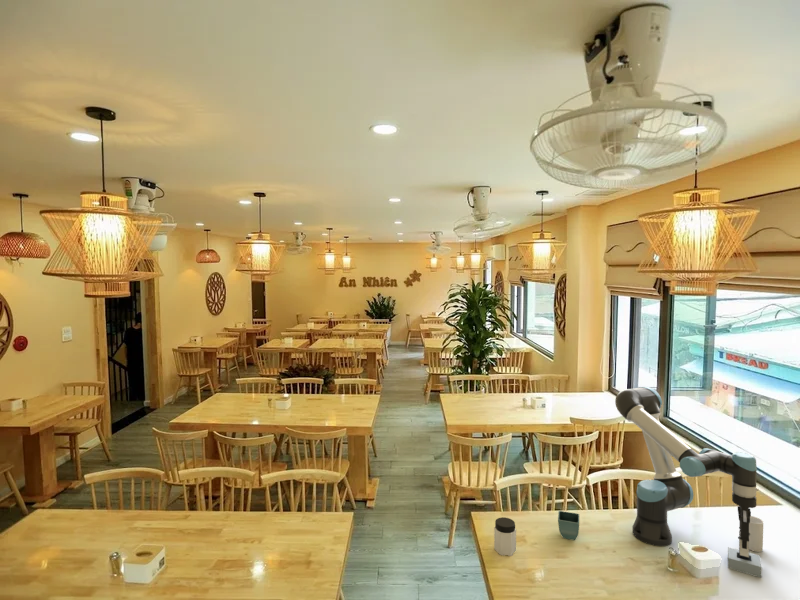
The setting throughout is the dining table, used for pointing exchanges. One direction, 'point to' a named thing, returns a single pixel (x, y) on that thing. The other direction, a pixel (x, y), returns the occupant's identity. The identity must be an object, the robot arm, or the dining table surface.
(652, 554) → the dining table surface
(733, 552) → the socket block
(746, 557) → the peg
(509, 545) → the jar
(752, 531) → the beige oval cylinder
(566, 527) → the flower pot
